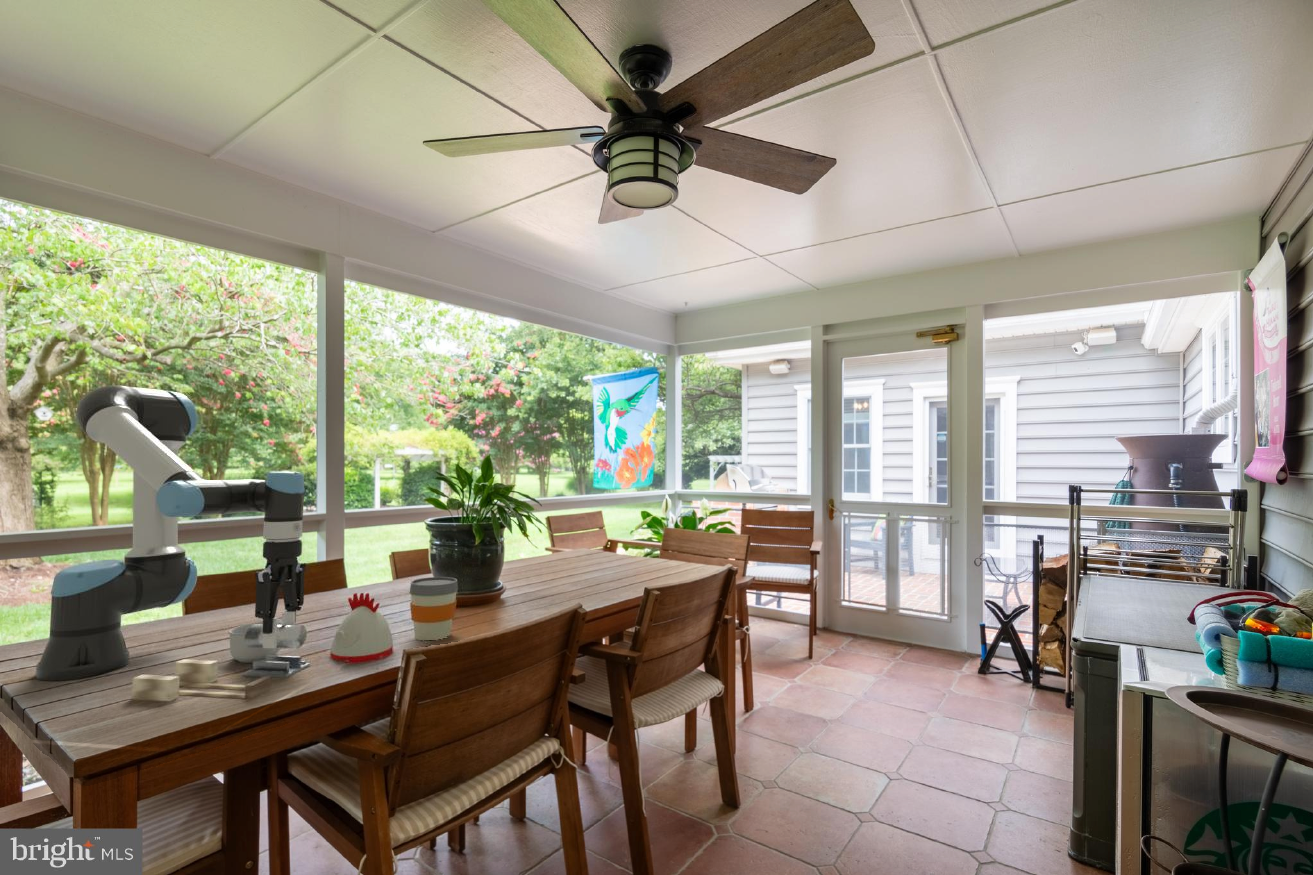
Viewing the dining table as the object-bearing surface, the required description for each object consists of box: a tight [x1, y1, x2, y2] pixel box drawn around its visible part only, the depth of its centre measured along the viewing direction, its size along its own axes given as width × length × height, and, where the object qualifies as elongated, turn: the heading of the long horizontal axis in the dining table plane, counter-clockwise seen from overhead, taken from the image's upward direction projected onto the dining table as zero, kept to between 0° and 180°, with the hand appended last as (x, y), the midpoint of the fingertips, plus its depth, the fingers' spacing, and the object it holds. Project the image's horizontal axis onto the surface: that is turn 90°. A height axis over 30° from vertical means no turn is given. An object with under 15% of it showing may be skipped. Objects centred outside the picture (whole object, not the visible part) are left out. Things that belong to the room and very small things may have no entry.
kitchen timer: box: [329, 592, 394, 664], centre depth 149 cm, size 14×14×15 cm
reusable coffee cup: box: [409, 576, 459, 642], centre depth 165 cm, size 13×13×15 cm
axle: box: [245, 624, 308, 649], centre depth 135 cm, size 11×5×5 cm, turn 85°
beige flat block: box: [131, 658, 272, 702], centre depth 122 cm, size 22×12×4 cm, turn 85°
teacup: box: [228, 619, 282, 663], centre depth 145 cm, size 14×11×8 cm
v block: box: [242, 654, 311, 679], centre depth 135 cm, size 10×8×3 cm
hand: (279, 643), depth 135 cm, fingers closed on axle, 5 cm apart
